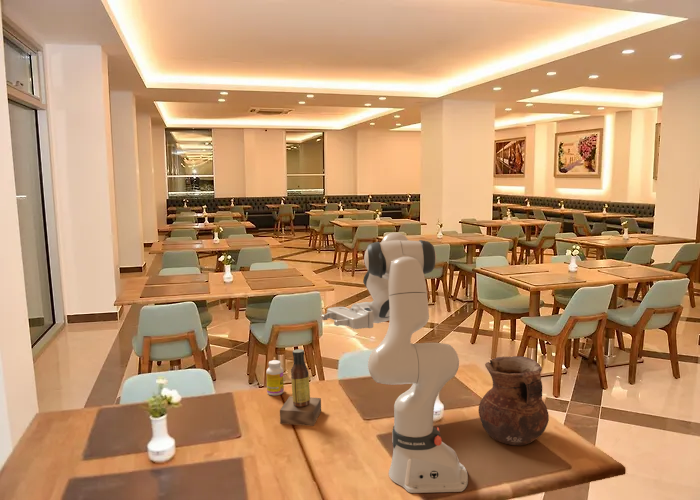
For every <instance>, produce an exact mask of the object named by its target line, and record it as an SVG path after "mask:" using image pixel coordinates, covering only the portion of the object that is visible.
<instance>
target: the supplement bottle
mask: <svg viewBox="0 0 700 500" xmlns="http://www.w3.org/2000/svg"><path fill="white" fill-rule="evenodd" d="M265 374H266V393H267V395H270V396H280V395H282V394H283V393H284V392H285V391H284V387H285V385H284V369H283V367H281V361H280V360H277V359H274V360H273V359H272V360H269V361H268V367H267V369H266V373H265Z"/></svg>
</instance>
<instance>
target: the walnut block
mask: <svg viewBox="0 0 700 500" xmlns="http://www.w3.org/2000/svg"><path fill="white" fill-rule="evenodd" d="M321 413H322V398H320V397H311V396H310V404H309V405H307V406H304V407H297V406H295V405H294V404H293V396H292V395H291V396H288V398H287V399H286V401H285V402H284V403H283V405H282V406H281V407H280V410H279V416H280V417H279V419H280V420H279V421H280V424H281V425H282V424H283V425H297V426H299V425H300V426H310V427H311V426H312V427H313V426H315V424H316V421H317V420H318V417H319V416H320V415H321Z"/></svg>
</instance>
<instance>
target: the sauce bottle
mask: <svg viewBox="0 0 700 500" xmlns="http://www.w3.org/2000/svg"><path fill="white" fill-rule="evenodd" d="M292 356H293V365H292V367H291V369H290V372H291V373H290V375H291V392H292V395H291V396H293V404H294V405H295V406H297V407H304V406H307V405H309V404H310V397H311V389H310V379H309V378H310V376H309V374H310V373H309V371H308V367H307V366H306V362H305V350H304V349H302V348H299V349H298V348H297V349H294V350H292Z"/></svg>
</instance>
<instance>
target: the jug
mask: <svg viewBox="0 0 700 500" xmlns="http://www.w3.org/2000/svg"><path fill="white" fill-rule="evenodd" d="M489 361H490V362H489ZM489 361H488V362H487V361H486V362H485V363H484V365H485V368H486V370H487V372H489V374H490V376H491V380H492V388H491V389H489V390H488V391H487V392H486V393H485V394H484V395H483V396H482V398H481V400H480V403H479V405H478V416H479V420H480V422H481V424H482V428H483V429H484V431H485V432H486V433H487V434H488V435H489V436H490V437H491V438H492V439H493V440H495V441H497V442H500V443H502V444H506V445H508V446H518V447H519V446H526V445H529V444H531V443H532V442H533V441H535V440H537V439H538V438H539V437H540V436H541V435H543V433H544V432H545V430H546V429H547V426H548V424H549V422H550V421H549V419H550V417H549V411H548V408H547V405H546V404H545V402H544V400H543V382H542V375H541V373H542V370H543V368H542V366H540V364H539V363H538V362H537V361H536V360H534V359H532V358H530V357H526V356H522V355H514V356H499V357H495V358H493V359H490V360H489Z"/></svg>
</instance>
